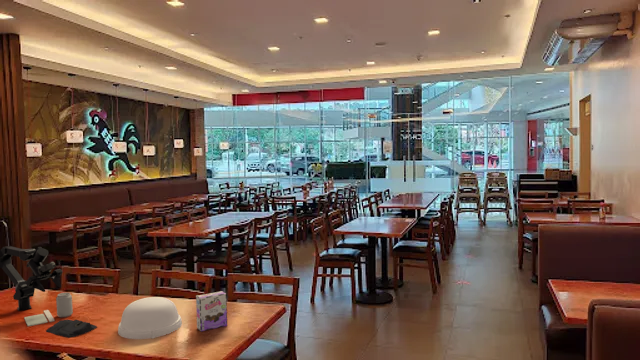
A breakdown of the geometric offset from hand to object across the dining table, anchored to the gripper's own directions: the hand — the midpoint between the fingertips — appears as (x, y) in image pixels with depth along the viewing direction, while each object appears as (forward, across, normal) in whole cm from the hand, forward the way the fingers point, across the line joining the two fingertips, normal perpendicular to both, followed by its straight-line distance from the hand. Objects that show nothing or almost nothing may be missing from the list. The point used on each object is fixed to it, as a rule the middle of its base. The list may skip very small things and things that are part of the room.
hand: (52, 289), depth 264 cm
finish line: (+10, -4, +9) cm, 14 cm away
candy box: (+77, +14, -58) cm, 97 cm away
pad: (+10, -11, +9) cm, 17 cm away
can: (+16, 0, +4) cm, 16 cm away
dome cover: (+57, +3, -37) cm, 68 cm away
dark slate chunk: (+32, -14, -12) cm, 36 cm away
